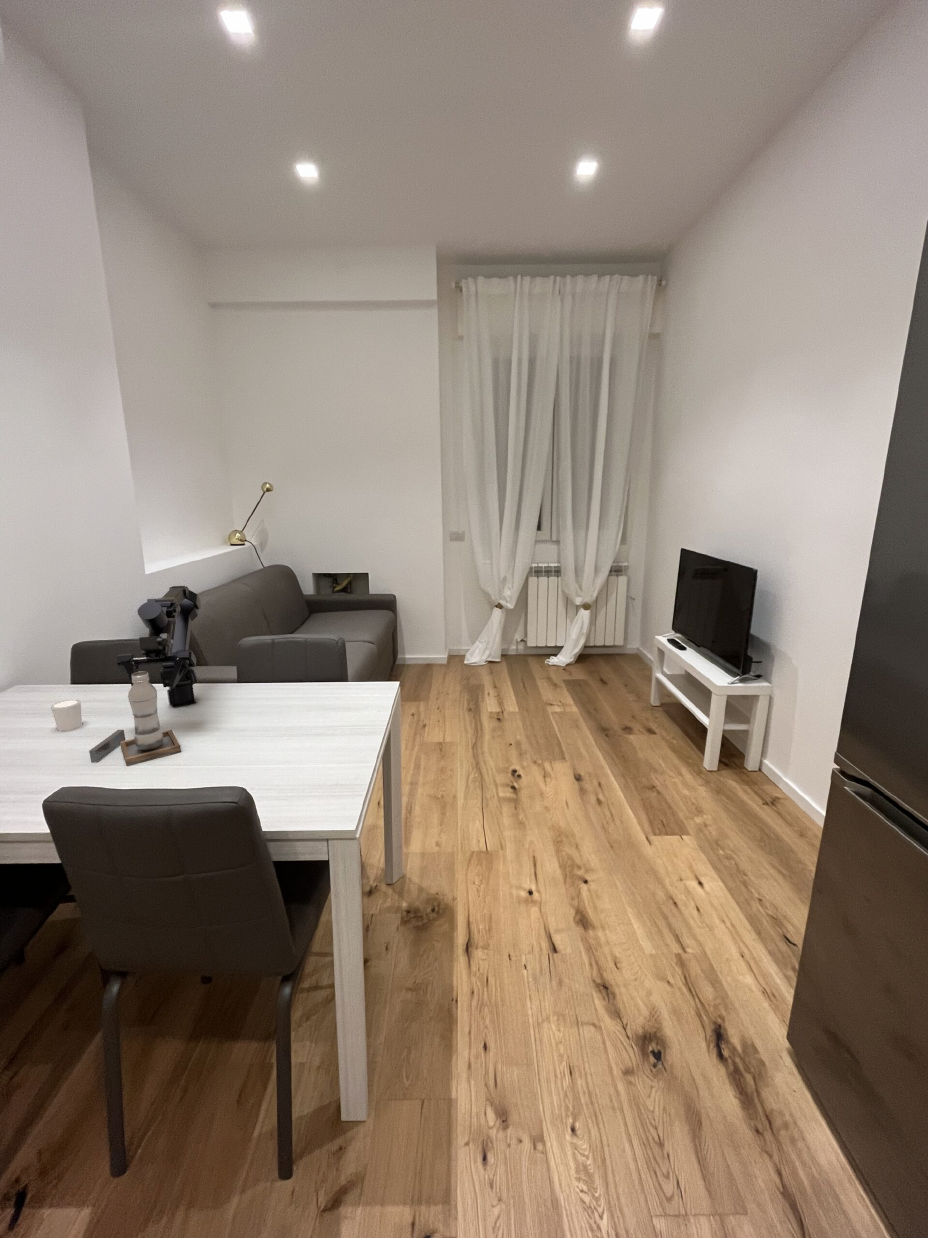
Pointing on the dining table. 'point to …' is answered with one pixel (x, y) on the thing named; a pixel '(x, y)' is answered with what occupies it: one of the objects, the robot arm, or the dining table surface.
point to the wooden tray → (137, 756)
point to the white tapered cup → (67, 714)
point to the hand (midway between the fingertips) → (153, 689)
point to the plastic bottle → (145, 712)
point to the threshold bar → (106, 746)
